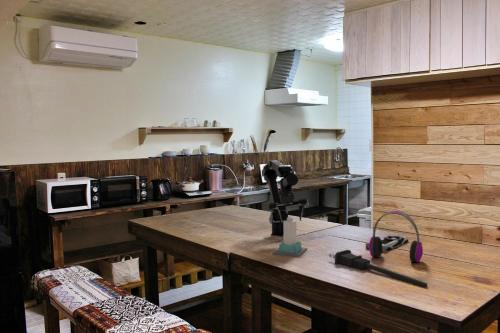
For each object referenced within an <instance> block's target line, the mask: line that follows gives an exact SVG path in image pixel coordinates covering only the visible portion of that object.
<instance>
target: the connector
mask: <svg viewBox="0 0 500 333" xmlns="http://www.w3.org/2000/svg"><path fill="white" fill-rule="evenodd" d="M283 222H284V235H283V241H284V245H293V246H295V245H296V242H297V220H293V217H289V216H288V218H287V221H283Z"/></svg>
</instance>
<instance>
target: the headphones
mask: <svg viewBox="0 0 500 333" xmlns="http://www.w3.org/2000/svg"><path fill="white" fill-rule="evenodd" d="M391 214H392V215H393V214H394V215H395V214H396V215H400V216H402V217H404V218H405V219H406V220H408V221H409V223H411V225H412V227H413V228H414V231H415V233H416V239H417V240H413V241H412V242H411V244H410V248H409V261H410V262H411V263H415V262H416V263H419V264H420V261H421V260H422V257H423V254H424V253H423V250H424V248H423V242H422V241H420V232H419V229H418V227H417V224H416V223H415V221H414V219H413V218H412V217H411V216H410V215H409V214H407V213H406V212H403V211H399V210H391V211H388V212H386V213H384V214H383V215H381V216H380V217H379V218H378V219H377V220H376V222H375V224H374V227H373V229H372V236H371V237H370V239H369V243H370V244H369V249H368V250H369V254H370V256H371V258H380V257H381V256H382V253H383V251H382V241H381V239H382V238H381V237H380V236H376V233H377V232H376V231H377V230H376V229H377V226H378V224H379V222H380V221H381V220H382V218H384V217H385V216H387V215H391Z"/></svg>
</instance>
